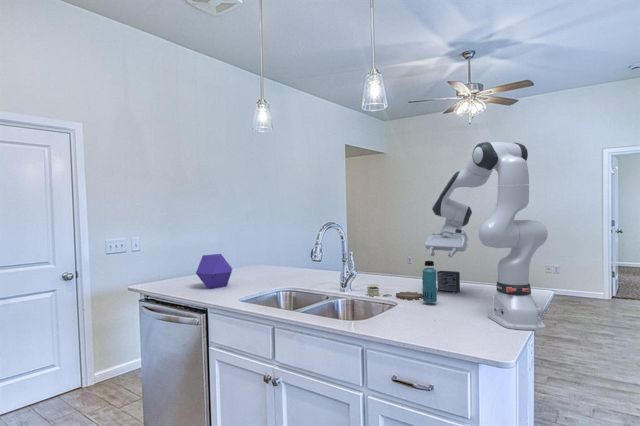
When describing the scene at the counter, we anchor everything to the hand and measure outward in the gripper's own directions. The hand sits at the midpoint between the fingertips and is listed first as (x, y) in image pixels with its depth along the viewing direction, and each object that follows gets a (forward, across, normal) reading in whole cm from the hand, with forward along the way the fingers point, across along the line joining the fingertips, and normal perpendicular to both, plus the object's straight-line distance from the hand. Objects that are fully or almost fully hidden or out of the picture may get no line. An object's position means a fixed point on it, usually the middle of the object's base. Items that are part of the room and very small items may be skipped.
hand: (440, 255), depth 186 cm
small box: (0, -6, +30) cm, 30 cm away
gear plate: (+19, -14, +11) cm, 26 cm away
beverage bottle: (+23, 0, +7) cm, 24 cm away
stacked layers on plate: (+25, -31, +6) cm, 40 cm away
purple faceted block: (+53, -115, -23) cm, 129 cm away
